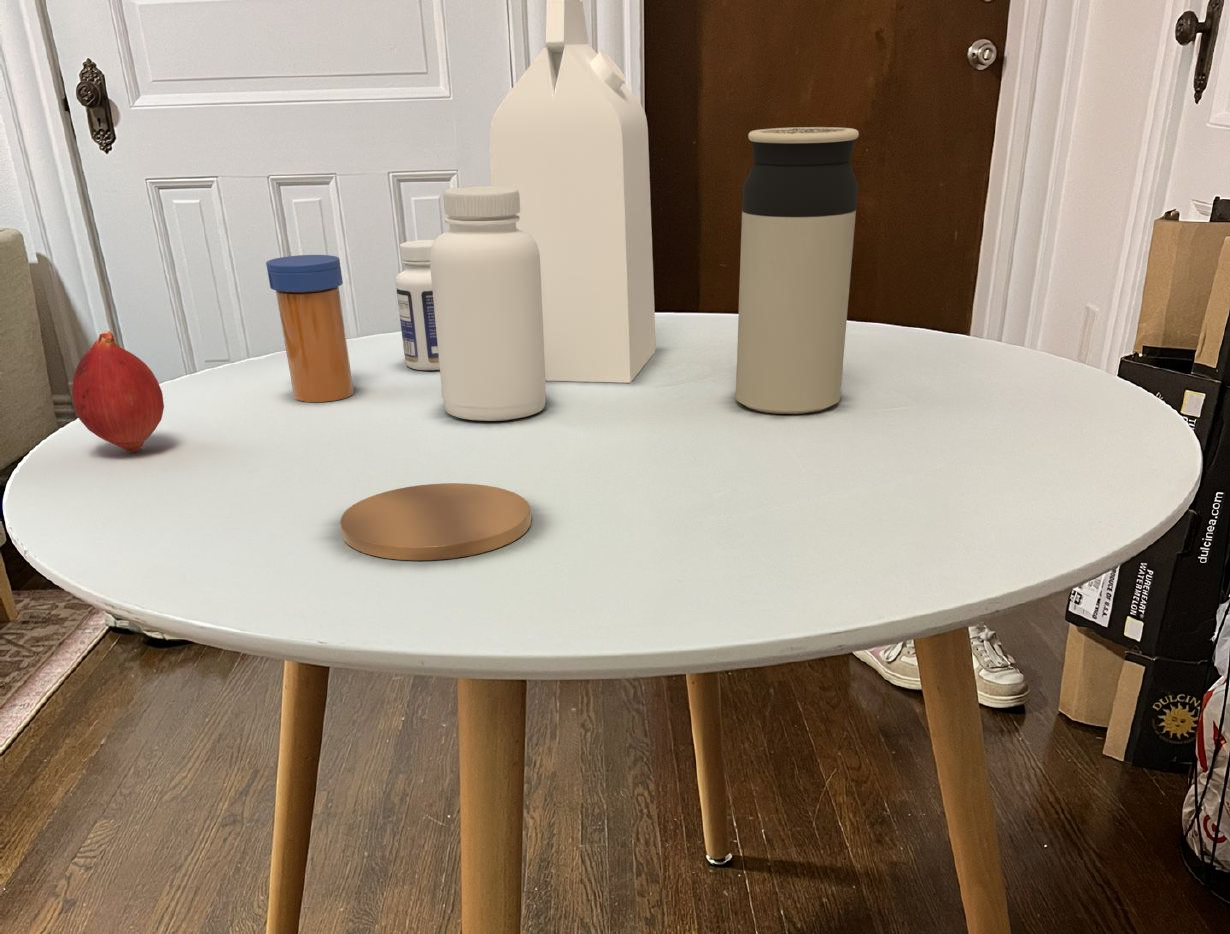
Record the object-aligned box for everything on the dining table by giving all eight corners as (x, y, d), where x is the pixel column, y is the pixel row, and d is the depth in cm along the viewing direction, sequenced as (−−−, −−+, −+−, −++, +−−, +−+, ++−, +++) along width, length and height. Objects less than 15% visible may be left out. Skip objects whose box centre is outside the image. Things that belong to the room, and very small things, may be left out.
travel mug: (845, 415, 85) (870, 132, 75) (737, 416, 86) (748, 135, 76) (833, 388, 92) (854, 125, 82) (733, 390, 92) (742, 128, 82)
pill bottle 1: (475, 358, 104) (464, 238, 98) (454, 372, 99) (442, 247, 94) (418, 356, 105) (405, 237, 99) (396, 370, 100) (381, 247, 95)
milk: (533, 348, 107) (513, 5, 92) (655, 350, 105) (654, 0, 90) (496, 379, 97) (467, 1, 83) (630, 382, 95) (624, -5, 80)
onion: (88, 468, 79) (54, 344, 74) (88, 446, 83) (55, 328, 79) (177, 457, 80) (148, 335, 76) (172, 436, 85) (144, 319, 80)
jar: (306, 405, 91) (284, 276, 86) (285, 393, 95) (263, 268, 89) (363, 396, 93) (345, 269, 88) (340, 384, 97) (322, 261, 92)
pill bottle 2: (568, 410, 88) (558, 188, 80) (478, 430, 84) (458, 198, 76) (511, 391, 93) (497, 181, 85) (425, 408, 90) (401, 190, 81)
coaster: (388, 576, 61) (386, 562, 61) (314, 519, 69) (312, 506, 68) (566, 533, 66) (565, 519, 66) (478, 484, 74) (477, 471, 73)
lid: (283, 294, 86) (279, 268, 85) (259, 285, 90) (255, 259, 89) (353, 286, 89) (350, 260, 88) (327, 277, 93) (323, 252, 92)
